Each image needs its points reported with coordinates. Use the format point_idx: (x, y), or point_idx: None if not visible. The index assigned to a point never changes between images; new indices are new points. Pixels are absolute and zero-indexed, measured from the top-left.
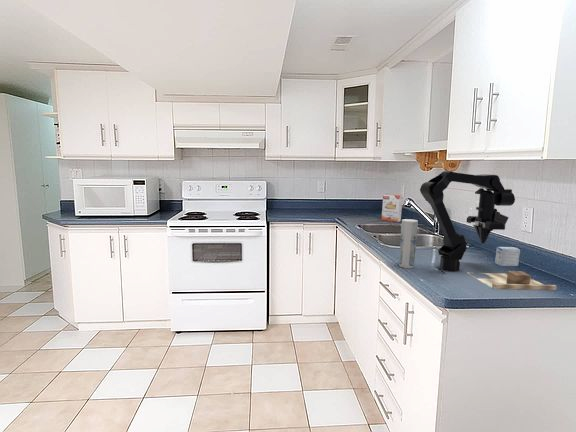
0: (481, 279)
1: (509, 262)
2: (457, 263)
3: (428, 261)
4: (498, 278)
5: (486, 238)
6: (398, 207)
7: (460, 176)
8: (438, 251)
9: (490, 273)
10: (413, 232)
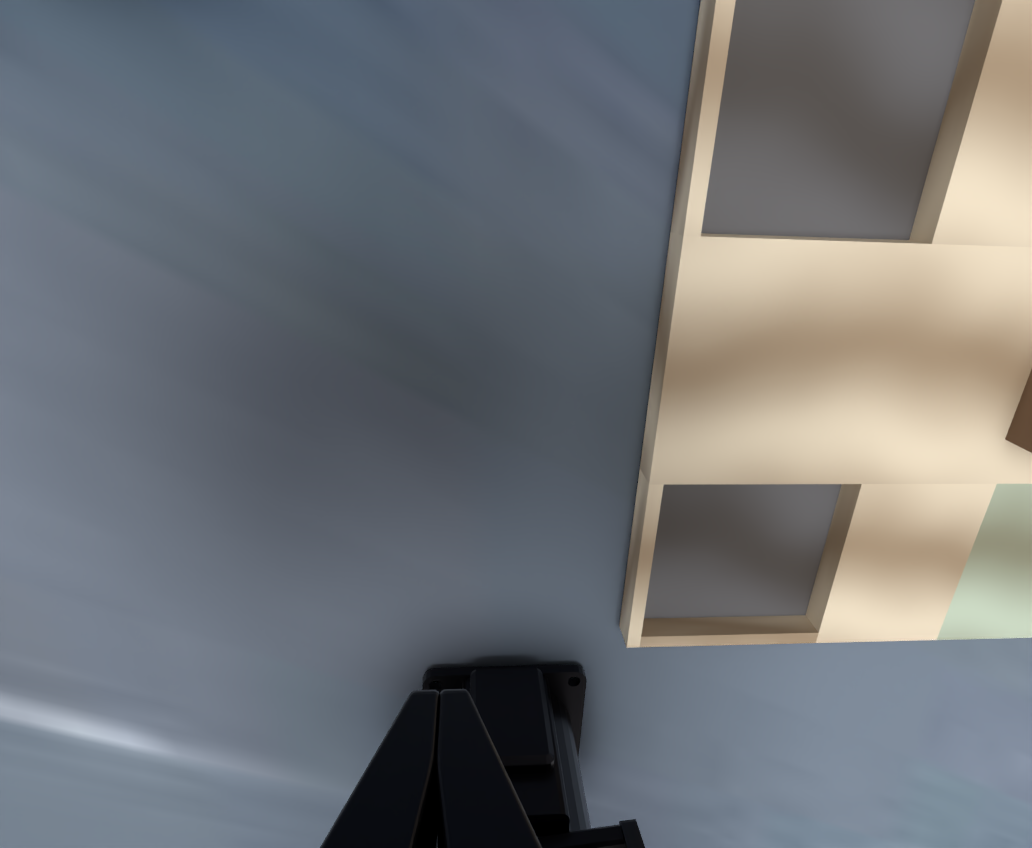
0: (853, 613)
1: None
2: (559, 766)
3: (100, 765)
4: (859, 434)
5: (519, 813)
6: None
7: None
8: None
9: (669, 414)
10: None
